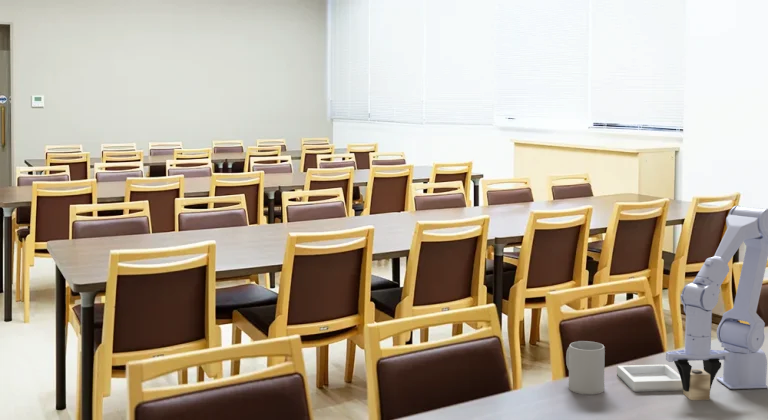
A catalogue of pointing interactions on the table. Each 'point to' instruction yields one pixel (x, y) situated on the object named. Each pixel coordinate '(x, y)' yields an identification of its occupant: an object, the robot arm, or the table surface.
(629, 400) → the table surface
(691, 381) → the bore block
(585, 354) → the mug
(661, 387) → the tray
